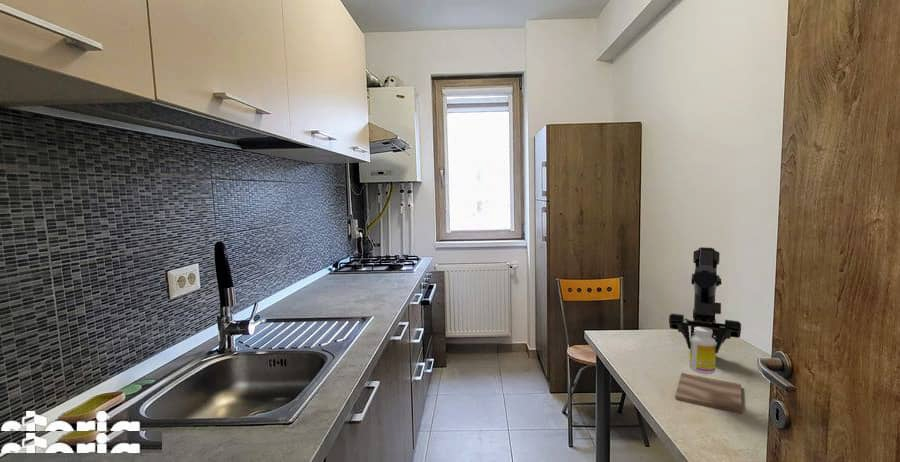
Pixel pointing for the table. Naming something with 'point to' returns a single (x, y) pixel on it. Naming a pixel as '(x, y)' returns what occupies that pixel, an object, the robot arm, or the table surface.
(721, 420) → the table surface
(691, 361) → the supplement bottle
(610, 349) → the table surface
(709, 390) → the walnut board
